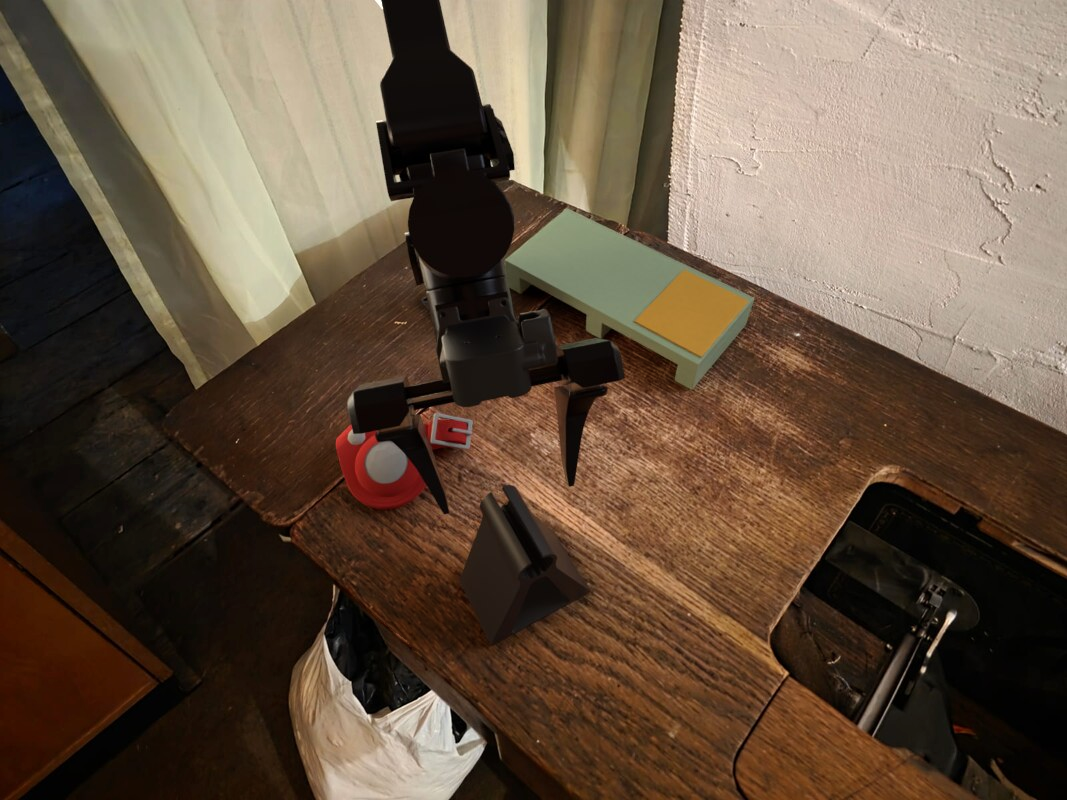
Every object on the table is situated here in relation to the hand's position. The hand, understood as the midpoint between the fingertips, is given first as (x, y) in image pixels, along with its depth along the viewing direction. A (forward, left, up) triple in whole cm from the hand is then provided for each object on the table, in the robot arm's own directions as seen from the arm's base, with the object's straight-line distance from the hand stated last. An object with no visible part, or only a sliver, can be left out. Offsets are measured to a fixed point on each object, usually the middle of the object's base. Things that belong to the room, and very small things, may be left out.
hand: (509, 498), depth 49 cm
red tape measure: (-13, -3, -10) cm, 17 cm away
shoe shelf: (-16, +26, -10) cm, 33 cm away
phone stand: (+3, -1, -10) cm, 11 cm away
